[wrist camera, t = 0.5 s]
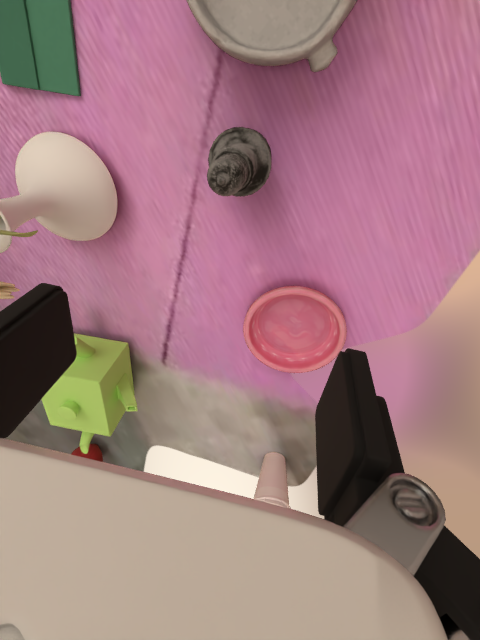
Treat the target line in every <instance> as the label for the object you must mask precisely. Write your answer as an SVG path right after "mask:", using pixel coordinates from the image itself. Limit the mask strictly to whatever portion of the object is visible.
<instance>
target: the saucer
mask: <svg viewBox="0 0 480 640" xmlns="http://www.w3.org/2000/svg"><path fill="white" fill-rule="evenodd" d="M243 332H244V338H245V341H246V344H247V346H248V348H249V349H250V351H251V352H252V354H253V355H254V356H255V357H256V358H257V359H258V360H260V361H261V362H262V363H264V364H265V365H267V366H269V367H271V368H273V369H276V370H279V371H283V372H290V373H303V372H309V371H313V370H317V369H319V368H321V367H323V366H325V365H327V364H329V363H330V362H331V361H332V360H333V359H335V358H336V357H337V355H338V354H339V352H340V351H341V350H342V348H343V346H344V343H345V340H346V332H347V331H346V323H345V319H344V316H343V314H342V312H341V310H340V309H339V307H338V306H337V305H336V304H335V303H334V302H333V301H332V300H331V299H330V298H329V297H327V296H326V295H324V294H323V293H321V292H319V291H316V290H314V289H311V288H307V287H301V286H285V287H280V288H276V289H273V290H271V291H269V292H267V293H265V294H263V295H262V296H260V297H259V298H258V299H257V300H256V301H255V302H254V303H253V304H252V305H251V307H250V308H249V310H248V312H247V314H246V317H245V320H244V327H243Z"/></svg>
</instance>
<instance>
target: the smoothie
mask: <svg viewBox="0 0 480 640" xmlns="http://www.w3.org/2000/svg"><path fill="white" fill-rule="evenodd" d="M254 499H255V500H258V501H262V502H266V503H270V504H273V505H277V506H281V507H285V508H289V509H291V508H290V506H289V500H288V499H289V498H288V487H287V475H286V463H285V457H284V456H283V455H281V454H279V453H276V452H270V453H267V454H266V455H265V457H264V460H263V464H262V468H261V472H260V476H259V480H258V484H257V488H256V492H255V496H254Z"/></svg>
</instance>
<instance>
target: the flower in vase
mask: <svg viewBox="0 0 480 640" xmlns="http://www.w3.org/2000/svg"><path fill="white" fill-rule="evenodd" d="M15 176H16V183H17V187H18V190H19V193H20V195H18V196H14V197H11V198H5V199H0V253H2V252H4V251H6V250H7V249H8V248H9V246H10V244H11V241H12V236H18V237H30V236H33V235H34V234H36V233H37V232H38V231H33V232H29V233H17V232H14V231H15V230H16V229H17V228H18V227H19V226H21V225H22V224H24V223H25V222H27V221H29V220H31V219H33V218H35V219H36V220H37V221H38V222H39V223H40V224H42V225H43V226H44V227H45V228H46V229H48V230H49V231H51V232H52V233H54V234H56V235H58V236H60V237H63V238H65V239H69V240H76V241H88V240H93V239H96V238H99V237H101V236H102V235H104V234H105V233H106V232H107V231H108V230H109V229H110V228H111V226H112V225H113V222H114V220H115V217H116V214H117V193H116V189H115V185H114V182H113V180H112V177H111V175H110V173H109V171H108V169H107V168H106V166H105V164H104V163H103V162H102V160H101V159H100V158H99V157H98V155H97V154H96V153H95V152H94V151H93V150H92V149H90V148H89V147H88V146H87V145H86V144H84V143H83V142H81V141H80V140H78V139H76V138H74V137H72V136H70V135H67V134H64V133H60V132H44V133H40V134H38V135H36V136H34V137H32V138H31V139H30V140H28V142H27V143H26V144H25V145H24V146H23V147H22V149H21V150H20V152H19V154H18V157H17V160H16V166H15ZM14 286H15V285H14V284H10V283H5V282H0V299H12V298H14V296H12V295H9V294H11V292H14V291H19V289H17V288H15V287H14Z"/></svg>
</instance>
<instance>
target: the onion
mask: <svg viewBox="0 0 480 640" xmlns="http://www.w3.org/2000/svg"><path fill="white" fill-rule="evenodd" d="M71 455H75V456H80V457H84V458H88V459H92V460H96V461H100V462H103V456H102V452H101V450H100V448H99V446H98V445H97V444H89V450H88V453H87V454H84V453H83V452H82V451H81V449H80V447H78V448H77V449H75V450H74V451H73V452H72V454H71Z"/></svg>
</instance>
